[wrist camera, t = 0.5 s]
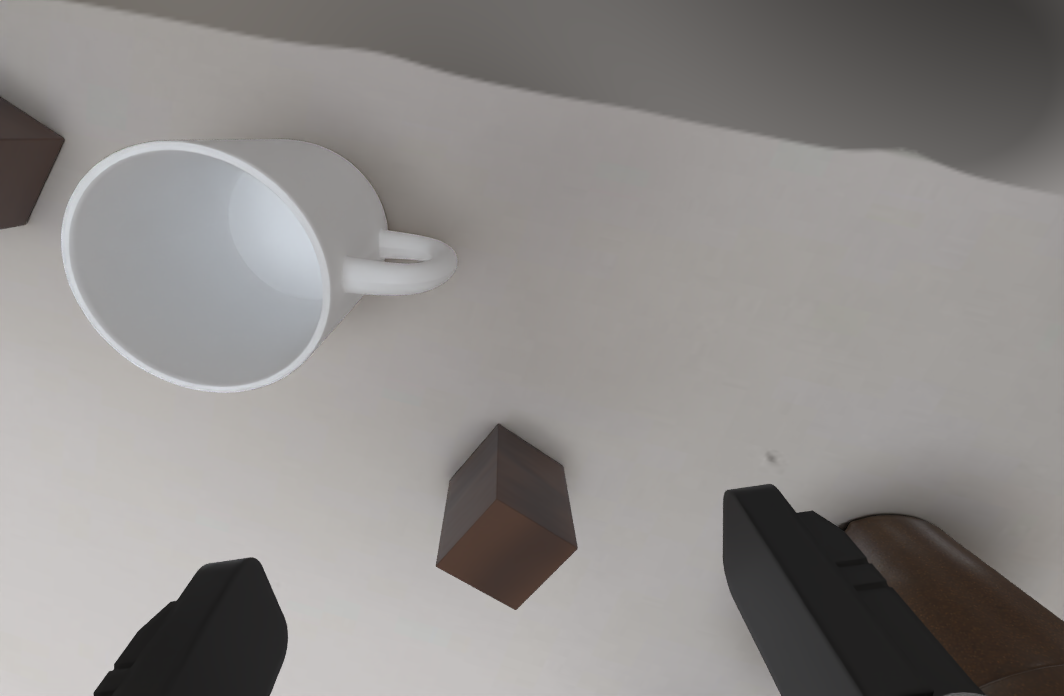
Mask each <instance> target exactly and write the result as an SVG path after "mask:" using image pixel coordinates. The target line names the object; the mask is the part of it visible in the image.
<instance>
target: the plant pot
mask: <svg viewBox="0 0 1064 696" xmlns="http://www.w3.org/2000/svg"><path fill="white" fill-rule="evenodd" d="M845 533H846V534H847V535H848V536H849V537H850V538H851V540H852V541H853V542H854V543H855V544H856V545H857V547H858V548H859V549H860V550H861V551H862V552H863V554H864V555H865V556H866V557H867V560H868V563H869V564H870V563H872V564H873V565H874V566H875V568H876V569H877V570H878V571H879V572H880V573H881V575H882V576H883V577H884V578H885V579H886V580H887V584H888V586H889V587H893V589H894V590H895V591H896V592H897V593H898V594H899V596H900V597H901V598H902V599H903V600H904V601H905V603H906V604H907V605H908V606H909V607H910V608H911V610H912V611H913V612H914V613H915V614H916V615H917V617H918V618H919V619H920V620H921V621H922V622H923V624H924V625H925V626H926V627H927V628H928V629H929V631H930V632H931V633H932V634H933V635H934V636H935V638H936V639H937V640H938V641H939V642H940V643H941V645H942V646H943V647H944V648H945V649H946V650H947V652H948V653H949V654H950V655H951V656H952V657H953V659H954V660H955V661H956V662H957V663H958V664H959V666H960V667H961V668H962V669H963V670H964V671H965V673H966V674H967V675H968V676H969V677H970V678H971V680H972V681H973V682H974V683H975V684H976V685H977V686H978V687H979V688H980V689H981V690H982V691H983V692H984V693H985V694H986V695H987V696H1064V621H1062V620H1061V619H1060V618H1058V617H1057V616H1056V615H1054V614H1053V613H1052V612H1050V611H1049V610H1047V609H1046V608H1045V607H1043V606H1042V605H1041V604H1039V603H1038V602H1037V601H1035V600H1034V599H1033V598H1031V597H1030V596H1029V595H1027V594H1026V593H1025V592H1023V591H1022V590H1021V589H1019V588H1018V587H1017V586H1015V585H1014V584H1013V583H1011V582H1010V581H1009V580H1007V579H1006V578H1005V577H1003V576H1002V575H1001V574H999V573H998V572H997V571H995V570H994V569H993V568H991V567H990V566H989V565H987V564H986V563H984V562H983V561H982V560H980V559H979V558H978V557H976V556H975V555H974V554H972V553H971V552H970V551H968V550H967V549H966V548H964V547H963V546H962V545H960V544H959V543H958V542H956V541H955V540H954V539H953V538H951V537H950V536H949V535H948V534H946V533H945V532H944V531H943V530H941V529H940V528H938V527H936V526H935V525H933V524H931V523H929V522H926V521H924V520H921V519H917V518H913V517H908V516H902V515H881V516H870V517H867V518H863V519H859V520H856V521H852V522H850V523H849V525H848V527H847V529H846V530H845Z"/></svg>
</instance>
